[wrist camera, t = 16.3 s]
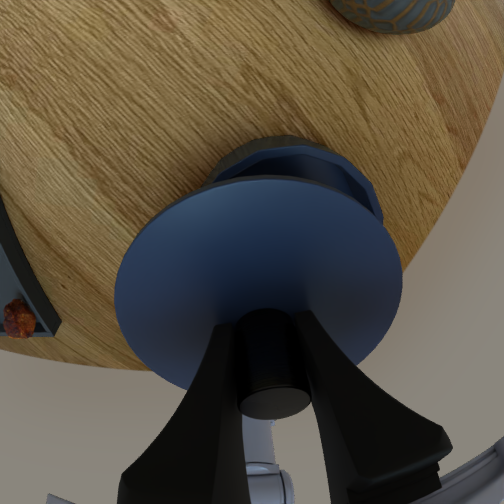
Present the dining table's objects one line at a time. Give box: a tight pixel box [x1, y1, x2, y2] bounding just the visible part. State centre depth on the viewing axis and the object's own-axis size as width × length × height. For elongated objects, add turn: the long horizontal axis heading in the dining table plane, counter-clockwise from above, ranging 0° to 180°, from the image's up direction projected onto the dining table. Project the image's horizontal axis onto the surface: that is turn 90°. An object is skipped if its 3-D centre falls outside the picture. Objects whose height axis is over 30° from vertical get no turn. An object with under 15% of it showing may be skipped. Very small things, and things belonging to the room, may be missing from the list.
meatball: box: [3, 299, 36, 339], centre depth 19 cm, size 4×4×4 cm
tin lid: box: [114, 175, 402, 420], centre depth 10 cm, size 12×12×5 cm
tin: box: [201, 135, 384, 225], centre depth 17 cm, size 11×11×4 cm
